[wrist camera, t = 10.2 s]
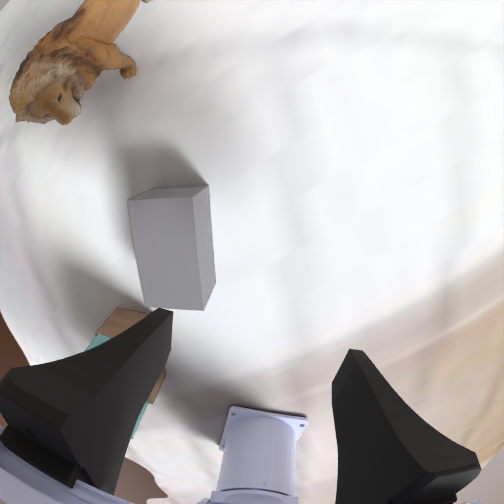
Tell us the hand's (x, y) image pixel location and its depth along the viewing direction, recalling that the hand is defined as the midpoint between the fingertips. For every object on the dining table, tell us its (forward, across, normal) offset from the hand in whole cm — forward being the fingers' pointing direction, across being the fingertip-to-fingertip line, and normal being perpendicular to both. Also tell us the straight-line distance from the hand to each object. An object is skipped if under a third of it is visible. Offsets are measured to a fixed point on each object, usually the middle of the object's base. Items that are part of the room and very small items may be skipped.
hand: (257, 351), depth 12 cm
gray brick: (+10, +6, 0) cm, 12 cm away
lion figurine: (+10, +12, -14) cm, 21 cm away
